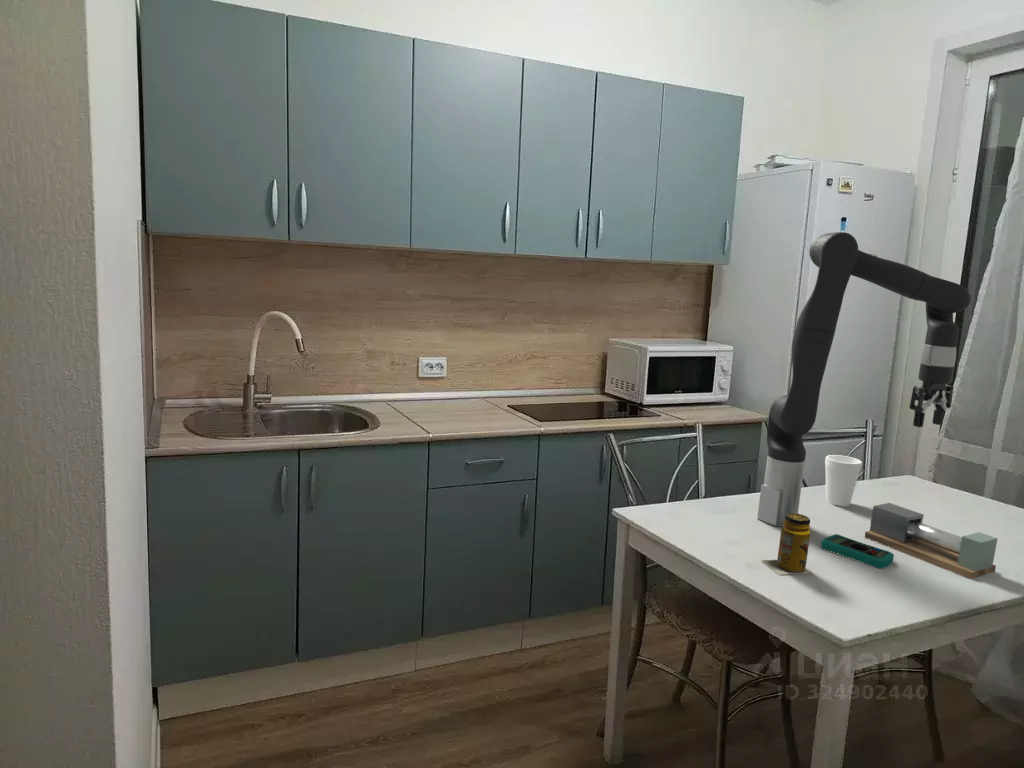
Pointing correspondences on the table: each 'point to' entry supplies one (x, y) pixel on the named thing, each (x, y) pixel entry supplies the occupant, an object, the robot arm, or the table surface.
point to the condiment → (792, 546)
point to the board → (930, 555)
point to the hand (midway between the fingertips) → (927, 425)
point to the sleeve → (893, 522)
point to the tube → (934, 536)
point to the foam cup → (841, 478)
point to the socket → (977, 551)
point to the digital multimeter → (858, 551)
